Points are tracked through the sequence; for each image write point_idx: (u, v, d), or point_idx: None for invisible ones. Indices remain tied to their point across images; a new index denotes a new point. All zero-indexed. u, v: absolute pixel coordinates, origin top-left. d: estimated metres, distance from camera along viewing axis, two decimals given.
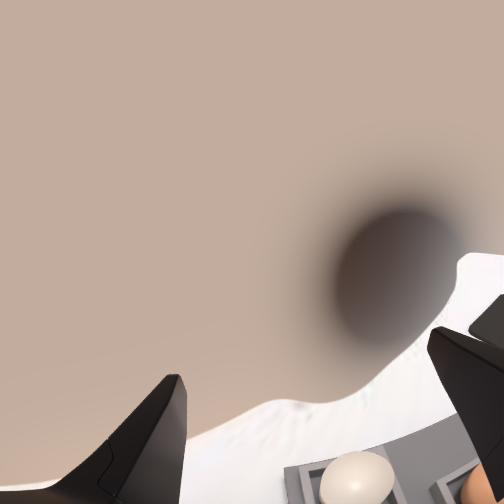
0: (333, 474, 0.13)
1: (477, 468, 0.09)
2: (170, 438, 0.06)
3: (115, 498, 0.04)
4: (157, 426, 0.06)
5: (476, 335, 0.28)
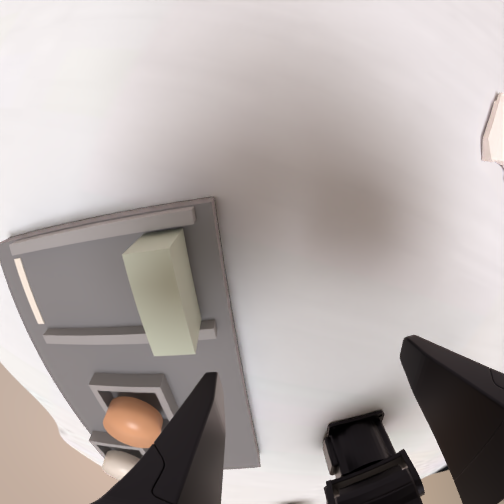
0: (120, 479, 0.21)
1: (116, 438, 0.18)
2: (215, 437, 0.06)
3: None
4: (205, 426, 0.06)
5: None
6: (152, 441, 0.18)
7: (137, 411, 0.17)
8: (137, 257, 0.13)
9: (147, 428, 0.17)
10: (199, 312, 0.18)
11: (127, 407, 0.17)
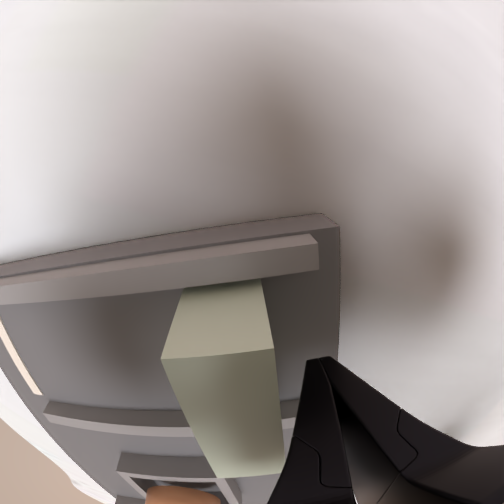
0: None
1: None
2: None
3: (345, 490, 0.04)
4: (336, 408, 0.06)
5: None
6: None
7: None
8: (196, 364, 0.06)
9: None
10: None
11: (178, 502, 0.10)
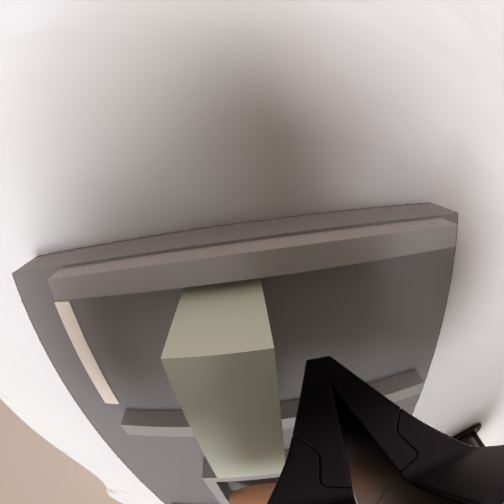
0: None
1: None
2: None
3: (345, 491, 0.04)
4: (336, 409, 0.06)
5: None
6: None
7: None
8: (196, 364, 0.06)
9: None
10: None
11: None
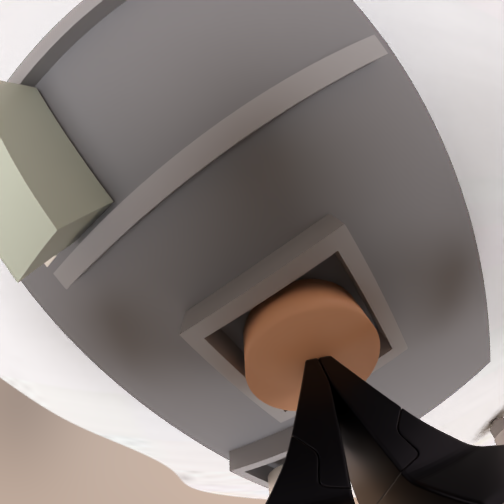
0: None
1: (286, 408, 0.09)
2: None
3: (344, 491, 0.04)
4: (335, 409, 0.06)
5: None
6: (366, 361, 0.09)
7: (314, 295, 0.09)
8: None
9: (352, 325, 0.08)
10: (101, 189, 0.09)
11: (288, 301, 0.09)
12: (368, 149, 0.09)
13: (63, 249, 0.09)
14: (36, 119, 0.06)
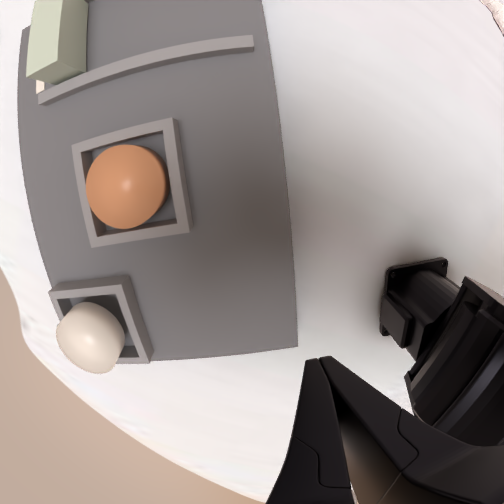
0: (82, 363, 0.16)
1: (97, 215, 0.14)
2: None
3: (344, 491, 0.04)
4: (335, 409, 0.06)
5: None
6: (150, 201, 0.14)
7: (141, 147, 0.14)
8: None
9: (148, 167, 0.14)
10: (84, 64, 0.13)
11: None
12: (217, 95, 0.15)
13: (50, 83, 0.12)
14: (78, 19, 0.10)
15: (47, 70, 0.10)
